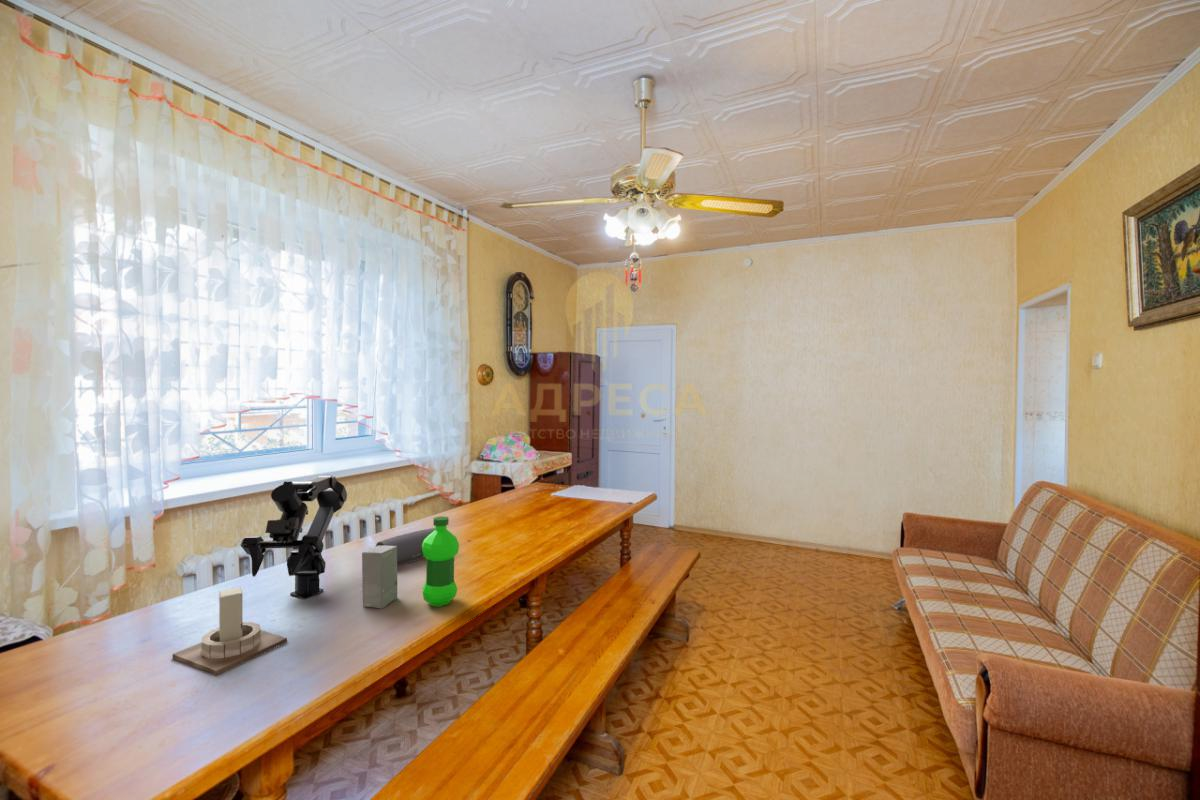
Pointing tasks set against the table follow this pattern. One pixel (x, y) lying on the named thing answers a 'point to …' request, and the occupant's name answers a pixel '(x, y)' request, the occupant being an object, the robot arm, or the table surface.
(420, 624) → the table surface
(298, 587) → the robot arm
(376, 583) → the skincare box
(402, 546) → the bluetooth speaker
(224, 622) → the box
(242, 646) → the ring socket
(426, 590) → the plastic bottle
